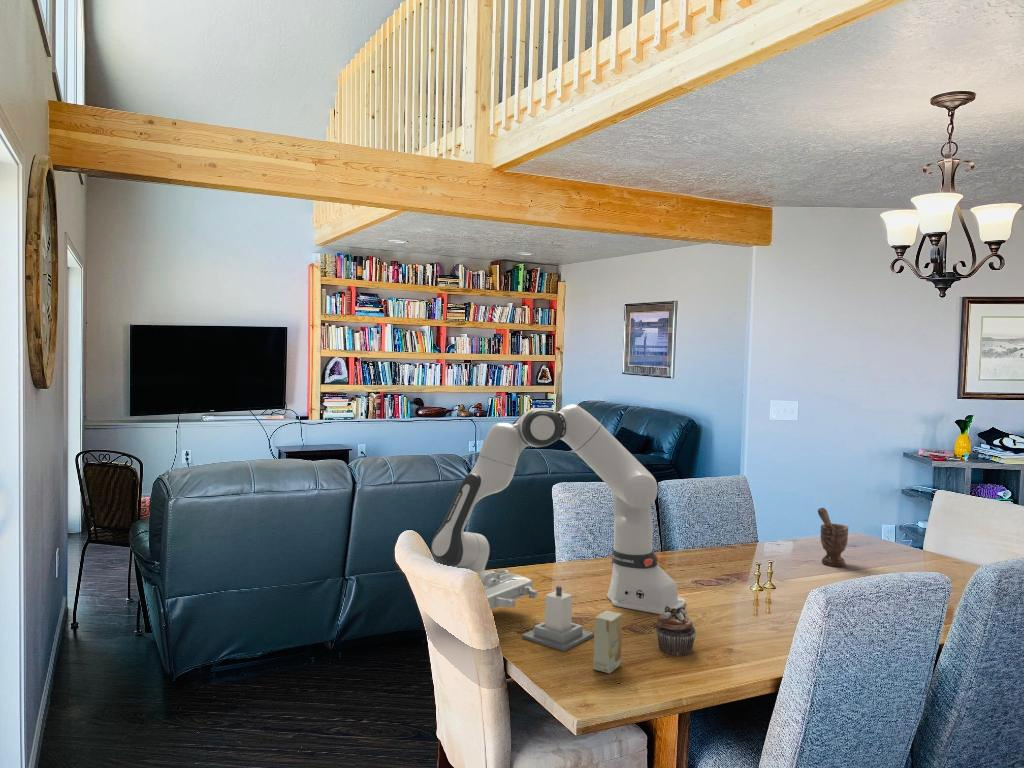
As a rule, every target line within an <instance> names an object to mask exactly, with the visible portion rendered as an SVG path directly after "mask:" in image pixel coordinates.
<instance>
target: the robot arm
mask: <svg viewBox="0 0 1024 768" xmlns="http://www.w3.org/2000/svg"><path fill="white" fill-rule="evenodd" d="M558 440H561V441H562V442H564V443H565V444H567V446H569V448H571V450H572V451H574V452H575V454H577V456H578V457H580V458H581V459H582V460H583V461H584V462H585V464H587V466H588V467H590V469H592V470H593V471H594V472H595V474H596V475H597V476H598V477H599V478H600V479H601V480H602V482H604V483H605V484H606V486H608V487H609V488H610V490H612V502H613V521H614V525H613V532H614V533H613V548H612V550H611V551H612V552H611V553H612V554H611V565H612V572H611V573H612V574H611V578H610V584H609V588H608V592H607V594H606V597H607V599H609V600H610V602H611V604H612V606H615V607H620V608H625V609H630V610H636V611H641V612H644V613H645V612H646V613H652V614H657V615H661V614H664V609H665V607H666V606H668V607H669V608H671V609H672V608H675V609H676V610H677V609H678V608H680V607H682V608H685V606H686V600H685V598H682V597H680V596H678V595H679V594H678V588H677V584H676V581H674V579H673V578H672V577H670V575H669V574H668V573H667V572H666V571H664V570H663V568H661V567H660V566H659V565H658V560H660V559H661V554H659V555H656V554H655V553H654V552H655V551H654V550H653V529H654V528H653V527H654V523H653V518H652V507H651V505H652V504H654V502H655V501H656V499H657V496H658V490H659V489H658V483H657V480H656V478H655V477H654V475H653V474H652V473H651V472H650V471H649V470H648V469H647V468H646V467H645V466H644V465H643V464H642V463H641V462H640V461H639V460H638V459H637V458H636V457H635V456H634V455H633V454H632V453H631V452H630V451H629V450H628V449H627V448H626V447H625V446H623V444H622V443H621V442H620V441H619V440H618V439H617V438H616V437H615V436H613V434H612V433H611V432H610V431H609V430H608V429H607V428H606V427H605V426H604V425H603V424H602V423H601V422H600V421H599V420H597V418H595V416H593V415H592V414H591V413H589V412H588V411H587V410H585V409H584V408H582V407H581V406H579V405H578V404H575V403H574V404H573V403H571V404H567V405H565V406H564V407H562V408H560V409H559V410H558V411H553V410H550V409H547V408H546V409H545V408H536V407H535V408H531V409H529V410H527V411H525V412H523V413H522V414H521V415H520V416H518V417H517V419H516V420H515V421H513V423H508V422H497V423H495V424H493V425H492V426H491V427H490V429H489V431H488V433H487V435H486V437H485V438H484V440H483V443H482V445H481V449H480V451H479V455H478V457H477V459H476V462H475V464H474V466H473V468H472V470H471V471H470V472H469V473H468V474H467V475H466V476H465V477H464V479H462V481H461V483H460V485H459V486H458V489H457V491H456V493H455V495H454V497H453V499H452V502H451V503H450V507H449V509H448V510H447V513H446V516H445V518H444V520H443V521H442V523H441V526H440V527H439V528H438V530H437V531H436V532H435V535H434V536H433V538H432V541H431V545H430V549H431V555H432V558H433V559H434V561H435V562H436V564H438V563H440V564H443V565H447V566H452V567H457V568H466V569H470V570H472V571H475V572H477V573H478V576H479V578H480V579H481V581H482V583H483V585H484V589H485V592H486V595H487V599H488V602H489V604H490V608H491V609H490V610H492V609H495V608H497V607H498V608H499V607H501V608H502V607H503V608H505V607H506V608H508V609H509V608H510V609H512V608H513V607H515V606H516V600H517V599H520V598H522V597H525V596H528V598H530V599H536V598H537V597H538V591H537V590H535V589H533V585H534V584H533V580H532V579H531V578H528V577H526V576H523V575H520V574H516V573H510V571H509V570H507V569H500V570H499V569H498V570H489V569H488V570H486V567H487V563H488V562H489V557H490V553H491V547H490V543H489V541H488V539H487V537H486V536H484V535H483V534H481V533H478V532H477V533H476V532H471V531H464V530H465V529H466V526H467V524H468V521H469V518H470V516H471V514H472V513H473V510H474V507H475V506H476V505H477V503H478V502H480V500H482V499H483V498H485V497H488V496H490V495H493V494H497V493H499V492H502V491H504V490H505V489H507V487H508V486H509V485H510V483H511V481H512V479H513V478H514V475H515V471H516V467H517V466H518V465H517V463H518V459H519V457H520V456H521V454H522V451H523V450H524V449H526V447H531V448H532V447H534V448H544V447H548V446H549V445H552V444H553V443H555V442H557V441H558Z"/></svg>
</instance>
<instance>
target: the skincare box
mask: <svg viewBox="0 0 1024 768" xmlns="http://www.w3.org/2000/svg"><path fill="white" fill-rule="evenodd" d="M622 620H623V613H620V612H616V611H615V612H614V611H611V610H604V611H603V612H600V613H599V614H598V615H596V616H595V617H594V630H593V631H594V632H593V633H594V636H593V639H594V640H593V664H592V665H593V666H592V667H593V670H594V671H599V672H603V673H607V674H611V673H612V672H614V671H615V670H616V669H617V668H618V667H620V666H621V663H622V662H621V659H622V658H621V657H622V656H621V655H622V654H621V653H622V626H623V625H622V624H623V623H622V622H623V621H622Z"/></svg>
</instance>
